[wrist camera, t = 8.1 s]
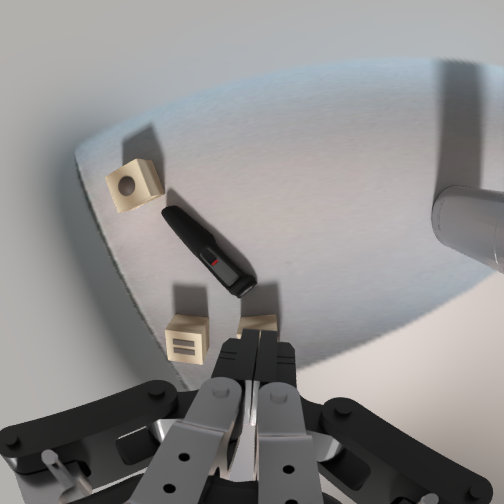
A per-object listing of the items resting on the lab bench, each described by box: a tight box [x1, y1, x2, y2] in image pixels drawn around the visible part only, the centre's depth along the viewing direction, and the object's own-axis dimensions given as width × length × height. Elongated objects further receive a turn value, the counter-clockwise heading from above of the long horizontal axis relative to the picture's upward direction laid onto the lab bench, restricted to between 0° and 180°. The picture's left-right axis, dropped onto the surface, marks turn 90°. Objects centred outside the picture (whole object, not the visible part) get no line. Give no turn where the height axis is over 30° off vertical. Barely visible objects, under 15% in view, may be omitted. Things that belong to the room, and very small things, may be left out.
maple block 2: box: [165, 314, 209, 365], centre depth 39 cm, size 5×5×5 cm
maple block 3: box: [237, 314, 279, 342], centre depth 38 cm, size 5×5×5 cm
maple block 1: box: [105, 159, 165, 213], centre depth 34 cm, size 5×5×5 cm
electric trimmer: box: [161, 206, 257, 298], centre depth 37 cm, size 4×16×3 cm, turn 43°
